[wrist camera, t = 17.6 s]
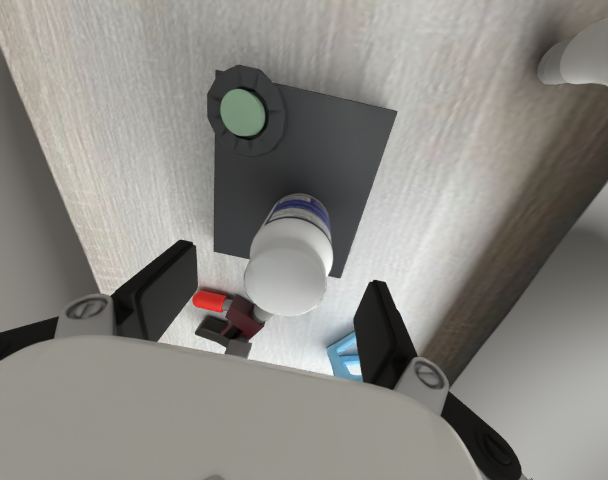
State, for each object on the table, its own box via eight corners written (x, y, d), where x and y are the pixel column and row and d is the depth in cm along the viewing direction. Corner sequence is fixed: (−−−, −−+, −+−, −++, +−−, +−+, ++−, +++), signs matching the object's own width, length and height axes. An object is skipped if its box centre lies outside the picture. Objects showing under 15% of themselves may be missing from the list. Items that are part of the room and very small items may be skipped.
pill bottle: (303, 257, 23) (290, 337, 14) (259, 223, 21) (213, 287, 12) (342, 219, 20) (357, 285, 12) (296, 178, 19) (273, 218, 10)
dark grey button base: (225, 70, 18) (204, 56, 14) (392, 108, 18) (407, 103, 15) (220, 243, 25) (206, 259, 22) (339, 268, 25) (341, 288, 22)
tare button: (229, 88, 16) (220, 84, 14) (268, 97, 16) (262, 93, 14) (228, 131, 17) (219, 131, 15) (263, 139, 17) (258, 140, 15)
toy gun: (289, 298, 28) (282, 328, 23) (241, 344, 32) (228, 376, 28) (224, 254, 26) (204, 279, 21) (182, 310, 30) (159, 340, 26)
